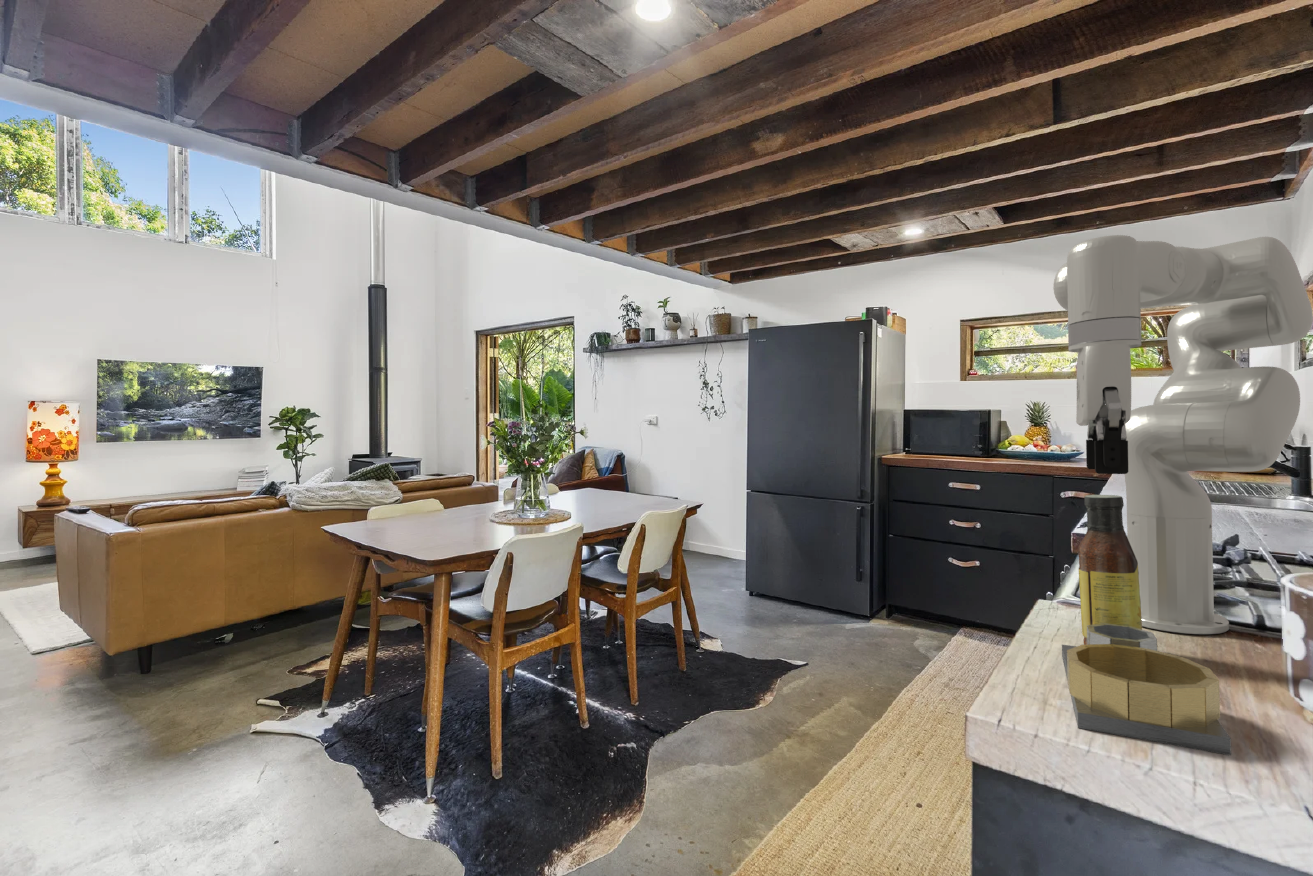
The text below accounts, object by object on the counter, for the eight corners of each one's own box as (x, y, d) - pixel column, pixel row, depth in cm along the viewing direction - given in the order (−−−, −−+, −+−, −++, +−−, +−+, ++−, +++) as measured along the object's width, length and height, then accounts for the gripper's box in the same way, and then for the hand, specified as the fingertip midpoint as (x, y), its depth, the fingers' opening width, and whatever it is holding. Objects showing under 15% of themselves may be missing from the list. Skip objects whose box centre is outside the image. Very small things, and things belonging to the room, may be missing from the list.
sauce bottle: (1155, 657, 76) (1152, 497, 76) (1114, 662, 75) (1111, 499, 75) (1106, 640, 82) (1103, 492, 82) (1068, 644, 81) (1064, 494, 81)
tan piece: (1059, 656, 77) (1058, 616, 77) (1178, 672, 71) (1177, 629, 71) (1074, 727, 59) (1073, 675, 59) (1235, 756, 53) (1234, 698, 53)
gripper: (1063, 347, 88) (1065, 467, 88) (1074, 331, 73) (1077, 475, 73) (1129, 342, 84) (1131, 467, 84) (1154, 324, 69) (1157, 476, 69)
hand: (1106, 471), depth 78 cm, fingers open, 9 cm apart
